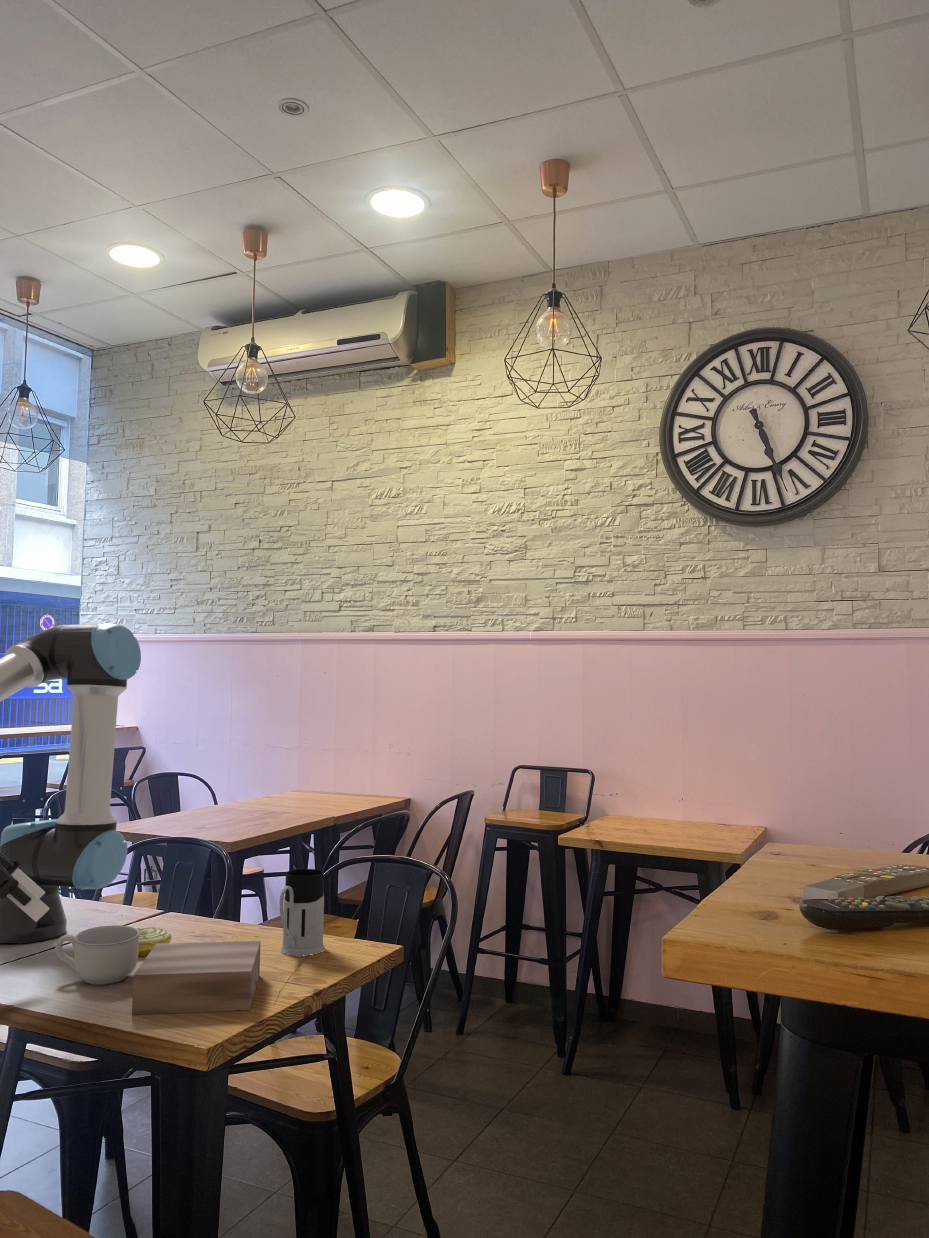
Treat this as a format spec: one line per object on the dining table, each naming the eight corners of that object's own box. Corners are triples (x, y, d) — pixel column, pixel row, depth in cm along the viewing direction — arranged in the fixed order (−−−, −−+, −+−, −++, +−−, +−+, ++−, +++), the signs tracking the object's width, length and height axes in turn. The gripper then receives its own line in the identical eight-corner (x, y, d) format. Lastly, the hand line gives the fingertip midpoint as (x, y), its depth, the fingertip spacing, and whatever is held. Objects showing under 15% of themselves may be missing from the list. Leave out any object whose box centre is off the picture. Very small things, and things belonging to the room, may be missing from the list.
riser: (154, 978, 154) (156, 943, 155) (259, 975, 157) (260, 940, 158) (131, 1014, 137) (133, 974, 137) (250, 1009, 139) (251, 970, 140)
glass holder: (332, 946, 176) (334, 869, 178) (300, 966, 163) (302, 883, 164) (292, 942, 179) (294, 867, 180) (258, 961, 165) (260, 880, 167)
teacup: (148, 971, 159) (150, 926, 159) (119, 991, 148) (121, 942, 149) (75, 968, 160) (77, 923, 161) (41, 987, 149) (43, 938, 150)
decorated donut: (165, 941, 179) (166, 922, 180) (174, 954, 170) (175, 934, 170) (111, 946, 175) (112, 927, 175) (116, 961, 165) (117, 940, 166)
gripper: (-70, 828, 154) (20, 908, 160) (-80, 850, 132) (24, 941, 138) (-33, 797, 157) (54, 876, 163) (-38, 813, 135) (63, 903, 141)
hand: (40, 906), depth 150 cm, fingers open, 13 cm apart
